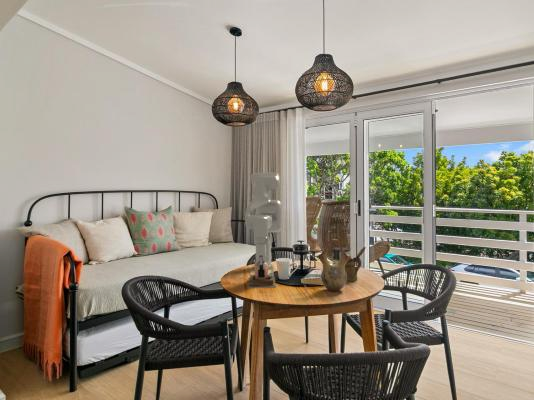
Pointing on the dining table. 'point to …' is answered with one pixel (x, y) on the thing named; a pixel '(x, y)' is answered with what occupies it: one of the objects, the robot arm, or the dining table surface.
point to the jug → (265, 271)
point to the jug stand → (261, 282)
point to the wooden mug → (353, 267)
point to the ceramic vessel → (333, 269)
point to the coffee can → (339, 253)
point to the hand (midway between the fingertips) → (261, 275)
